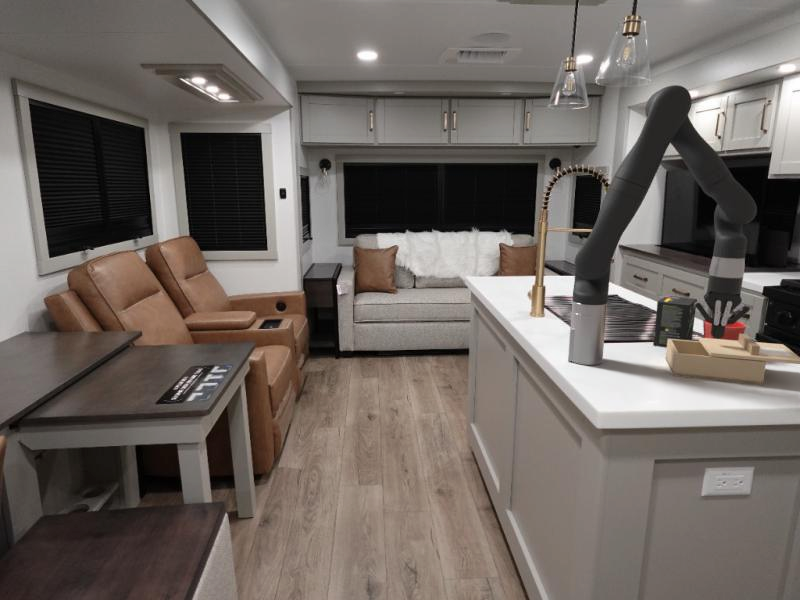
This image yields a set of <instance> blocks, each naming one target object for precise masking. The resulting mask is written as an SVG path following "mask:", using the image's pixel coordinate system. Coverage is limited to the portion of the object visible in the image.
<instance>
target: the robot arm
mask: <svg viewBox="0 0 800 600" xmlns="http://www.w3.org/2000/svg"><path fill="white" fill-rule="evenodd" d="M689 91H690V90H688V89H687V88H686V87H684V86H683V85H679V84H677V85H676V84H675V85H673V84H672V85H668V86H665V87H662V88H661V89H659V90H657V91H656V92H654V93H653V94H652V95H651V96H650V97H649V99H648V100H647V102H646V105H645V109H644V110H645V116H646V120H645V123H644V124H643V127H642V129H641V131H640V134H639V136H638V137H637V139H636V142H635V143H634V144H633V146H632V148H631V149H630V150H629V151H628V152H627V154H626V156H625V157H624V158H623V160H622V162H621V164H620V165H619V167H618V168H617V170H616V172H615V173H614V176H613V178H612V180H611V182H610V184H609V186H608V188H607V190H606V193H605V195H604V197H603V201H602V202H601V206H600V209H599V212H598V215H597V219H596V221H595V223H594V226H593V227H592V229H591V232H590V233H589V235H588V236H587V238H586V240H585V241H584V243H583V245H582V247H581V248H580V249H579V250H578V252H577V253H576V255H575V258H574V264H573V265H574V268H575V271H574V283H573V290H572V304H571V305H572V306H571V318H570V330H569V341H568V342H569V343H568V344H569V345H568V355H567V356H568V357H567V362H571V361H572V363H575V364H579V365H586V366H595V365H600V364H602V362H603V359H604V358H603V357H604V346H605V335H606V334H605V332H606V324H607V323H606V322H607V311H608V310H607V308H608V299H609V289H610V278H611V277H610V275H611V264H612V260H613V258H614V254H615V252H616V250H617V247H618V245H619V242H620V241H621V237H622V236H623V234H624V233H625V230H626V229H627V228H628V226H629V224H630V223H631V221H632V220H633V219H634V217H635V215H636V213H637V212H638V210H639V209H640V207H641V205H642V204H643V201H644V200H645V197H646V196H647V194H648V192H649V189H650V188H651V185H652V184H653V181H654V180H655V179H654V178H655V177H656V175H657V173H658V170H659V169H660V165H661V164H662V161H663V159H664V156H665V153H666V152H667V149H668V147H669V145H672V147H673V148H674V149H675V151H676V152H677V154H679V156H680V159H682V161H683V163H684V164H685V165H686V167H687V169H688V170H689V171H690V174H692V176H693V178H694V180H695V181H696V182H697V184H698V185H699V186H700V188H701V190H702V191H703V193H704V194H706V195H707V196H708V197H710V198H711V199H713V200H714V201H715V203H716V204H717V205H716V207H715V209H714V213H713V216H714V217H713V224H714V236H715V239H714V240H715V241H714V247H713V253H712V257H711V262H710V265H709V270H708V272H709V273H708V281H707V289H706V292H705V295H704V296H703V298H702V299H700V300H699V301H698V300H697V301H696V302H695V303H694V305H695V306H696V310H698V311H699V312H700V314H701V316H702V317H703V320H706V321H707V322H710V323H712V327H711V335H712V336H713V338H714V339H721V337H723V336H724V332H725V326H726V325H728V324H734V323H735V322H736V321H738V322H739V320H740V319H741V318H742V317H743V316H745V315H746V314H748V313H749V311H750V310H751V308H750V307H749V306H748V305H746V304H744V303H743V301H742V299H743V298H742V297H741V294H742V293H741V292H742V287H743V280H744V274H745V266H746V264H745V260H746V253H747V246H748V239H747V237H746V235H744V232H743V230H744V229H743V227H744V226H743V225H747V224H749V223H751V222H752V221H753V220H754V219H755V217H756V216H757V212H758V207H757V204H756V202H755V200H754V198H753V196H752V195H751V194H750V193H749V192H748V190H746V189H745V188H744V187H743V185H741V183H739V181H737V180H736V178H734V176H733V174H732V172H731V171H730V169H729V168H728V166H727V165H726V163H725V162H724V161H723V159H722V158H721V156H720V155H719V154H718V153H717V151H716V150H715V149H714V148H713V147H712V146H711V145H710V144H709V143H708V142H707V141H706V140H705V139H704V137H702V135H700V133H699V132H698V131H697V129H696V128H695V126H694V124H693V123H692V122H691V119H690V117H689V114H690V111H691V108H692V102H693V101H692V95H691V94H690V92H689ZM706 306H708V308H709V309H710V311H711V315H712V316H711V317H710V315H709V314H708V312H707V311H706V309H705V308H706ZM735 309H736V311H735V312H734V313H732V312H733V311H734V310H735ZM730 313H732V314H731V315H730ZM719 319H720V320H719Z"/></svg>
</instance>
